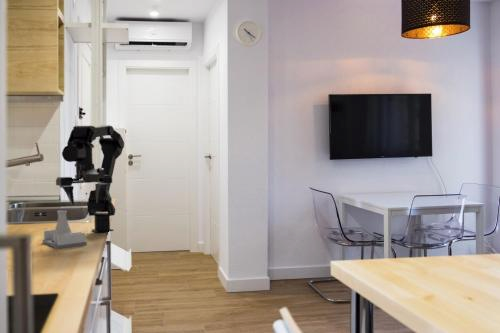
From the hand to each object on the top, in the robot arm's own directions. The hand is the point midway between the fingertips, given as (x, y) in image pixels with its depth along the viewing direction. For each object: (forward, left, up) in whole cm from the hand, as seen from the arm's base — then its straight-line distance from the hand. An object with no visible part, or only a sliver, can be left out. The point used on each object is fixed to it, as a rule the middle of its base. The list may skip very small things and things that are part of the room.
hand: (85, 204), depth 190 cm
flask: (+4, -10, -11) cm, 16 cm away
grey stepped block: (+6, -10, -12) cm, 17 cm away
